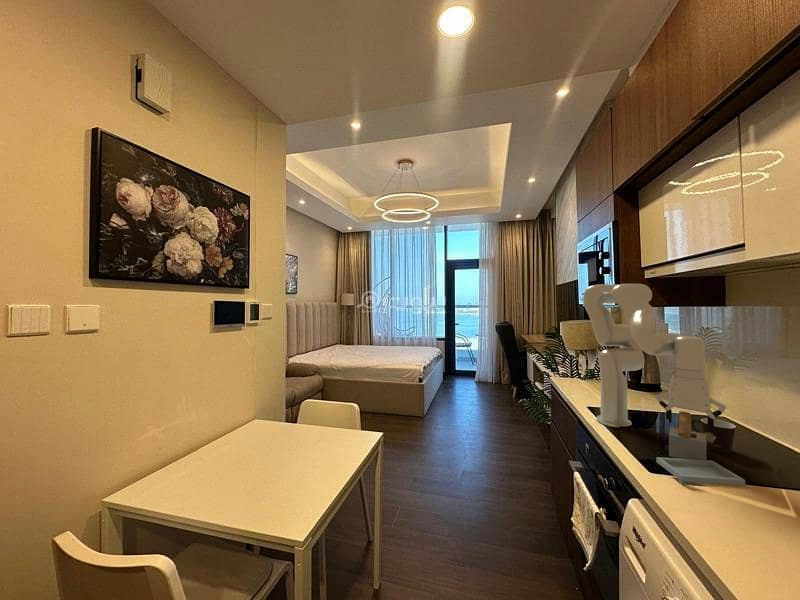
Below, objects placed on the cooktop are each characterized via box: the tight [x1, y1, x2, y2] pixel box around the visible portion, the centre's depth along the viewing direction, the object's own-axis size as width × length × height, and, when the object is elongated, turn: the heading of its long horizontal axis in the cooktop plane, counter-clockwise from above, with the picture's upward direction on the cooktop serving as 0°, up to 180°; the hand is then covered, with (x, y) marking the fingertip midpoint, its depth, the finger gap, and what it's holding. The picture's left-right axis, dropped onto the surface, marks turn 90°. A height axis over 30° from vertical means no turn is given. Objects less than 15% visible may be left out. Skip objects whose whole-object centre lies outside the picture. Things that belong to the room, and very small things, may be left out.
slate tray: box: [655, 456, 746, 488], centre depth 96 cm, size 11×16×2 cm
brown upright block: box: [678, 410, 692, 437], centre depth 108 cm, size 3×3×14 cm
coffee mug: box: [691, 418, 736, 455], centre depth 113 cm, size 12×9×10 cm
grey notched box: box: [668, 426, 707, 460], centre depth 107 cm, size 9×9×8 cm
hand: (689, 425), depth 107 cm, fingers open, 9 cm apart
